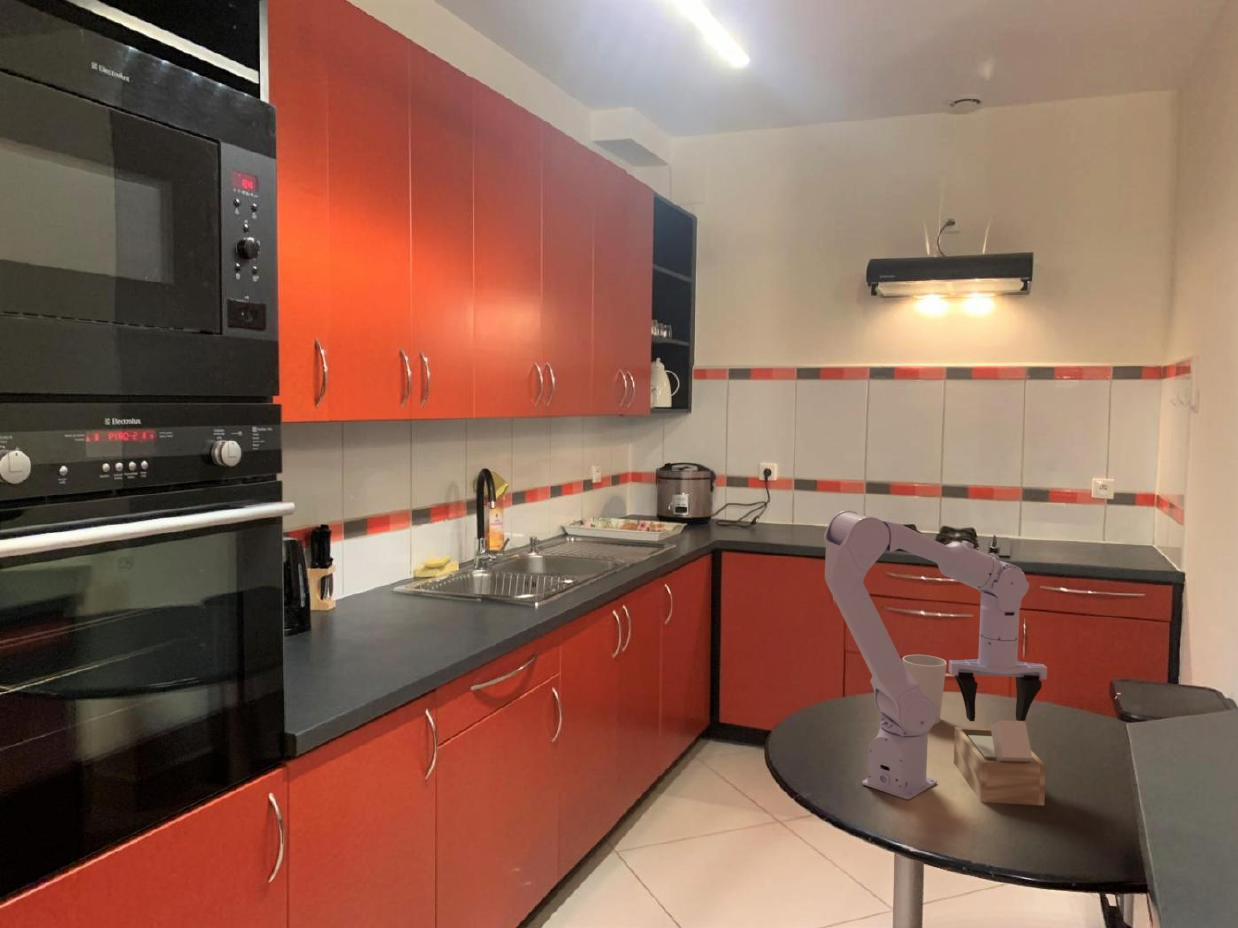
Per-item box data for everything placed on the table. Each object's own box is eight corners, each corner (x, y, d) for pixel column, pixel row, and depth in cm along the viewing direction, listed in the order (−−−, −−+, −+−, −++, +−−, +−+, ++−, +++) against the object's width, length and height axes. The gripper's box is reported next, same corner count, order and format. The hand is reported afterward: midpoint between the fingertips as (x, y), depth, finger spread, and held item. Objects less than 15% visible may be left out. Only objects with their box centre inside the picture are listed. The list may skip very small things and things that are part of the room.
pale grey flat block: (1029, 782, 137) (1030, 758, 136) (983, 780, 137) (984, 755, 137) (1010, 759, 146) (1011, 736, 145) (967, 757, 146) (968, 734, 146)
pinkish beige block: (1032, 757, 133) (1025, 720, 136) (1004, 756, 133) (997, 720, 136) (1024, 764, 136) (1017, 728, 139) (996, 763, 136) (990, 727, 139)
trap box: (1044, 807, 134) (1045, 765, 133) (980, 804, 135) (982, 762, 134) (1010, 768, 149) (1012, 729, 148) (953, 765, 150) (955, 727, 149)
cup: (936, 715, 175) (938, 654, 174) (950, 729, 167) (952, 666, 166) (895, 714, 175) (897, 654, 174) (907, 728, 167) (909, 665, 166)
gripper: (1037, 632, 145) (1033, 714, 146) (945, 628, 147) (942, 709, 148) (1053, 643, 138) (1049, 729, 139) (956, 639, 140) (953, 724, 141)
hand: (995, 720), depth 143 cm, fingers open, 7 cm apart
